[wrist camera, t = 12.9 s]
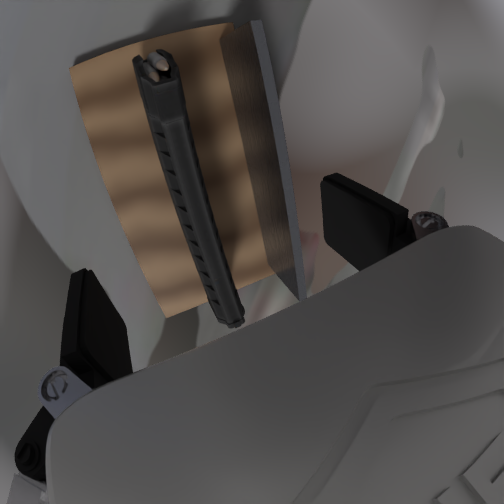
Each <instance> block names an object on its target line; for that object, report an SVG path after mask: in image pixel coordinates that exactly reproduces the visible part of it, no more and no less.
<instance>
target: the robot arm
mask: <svg viewBox="0 0 504 504" xmlns="http://www.w3.org/2000/svg"><path fill="white" fill-rule="evenodd" d="M320 187H321V199H322V213H323V229H324V239H325V241H326V243H327V244H328V245H329V246H330V247H331V248H332V249H334V250H335V251H336V252H337V253H338V254H340V255H341V256H342V257H343V258H344V259H346V260H347V261H348V262H349V263H350V264H352V265H353V266H354V267H355V268H356V269H357V270H359V272H358V273H356V274H354V275H352V276H350V277H348V278H346V279H344V280H342V281H340V282H338V283H336V284H334V285H332V286H330V287H328V288H327V289H325V290H323V291H321V292H319V293H316V294H314V295H312V296H310V297H308V298H306V299H304V300H302V301H300V302H298V303H296V304H294V305H292V306H290V307H288V308H285V309H283V310H281V311H279V312H277V313H275V314H273V315H270V316H268V317H266V318H264V319H262V320H259V321H257V322H255V323H253V324H251V325H248V326H246V327H244V328H242V329H239V330H237V331H235V332H232V333H230V334H228V335H225V336H223V337H221V338H218V339H216V340H214V341H211V342H209V343H207V344H204V345H202V346H200V347H197V348H195V349H192V350H190V351H187V352H185V353H182V354H180V355H177V356H175V357H172V358H170V359H167V360H165V361H162V362H160V363H157V364H155V365H152V366H149V367H147V368H144V369H141V370H139V371H137V372H134V373H133V370H132V364H131V357H130V351H129V343H128V336H127V328H126V325H125V323H124V321H123V319H122V318H121V316H120V314H119V313H118V311H117V310H116V308H115V307H114V305H113V304H112V302H111V300H110V299H109V297H108V296H107V294H106V292H105V291H104V289H103V288H102V286H101V284H100V283H99V281H98V279H97V277H96V276H95V274H94V272H93V271H92V270H89V271H88V270H87V269H86V268H84V269H81V270H79V271H77V272H75V273H73V274H71V279H70V285H69V290H68V297H67V304H66V311H65V317H64V323H63V332H62V342H61V354H60V366H58V367H54V368H52V369H51V370H49V371H48V372H47V373H46V374H45V375H44V376H43V377H42V379H41V381H40V383H39V386H38V398H39V400H40V401H41V403H42V404H43V407H42V408H41V409H40V411H39V412H38V414H37V416H36V417H35V418H34V420H33V421H32V423H31V424H30V426H29V427H28V429H27V430H26V432H25V434H24V435H23V437H22V438H21V440H20V441H19V443H18V445H17V447H16V451H15V463H16V466H17V468H18V470H19V475H17V474H14V478H13V481H12V485H11V489H10V493H9V497H8V501H7V504H504V242H503V241H501V240H500V239H498V238H497V237H495V236H493V235H492V234H490V233H488V232H486V231H484V230H482V229H480V228H478V227H475V226H469V225H468V226H467V225H465V226H464V225H462V226H453V227H449V226H448V223H447V221H446V220H445V219H444V218H443V217H442V216H440V215H438V214H436V213H433V212H428V211H421V212H417V213H415V214H414V215H413V216H412V219H409V218H408V211H409V210H408V209H406V208H404V207H403V206H401V205H399V204H397V203H396V202H394V201H392V200H390V199H388V198H386V197H385V196H383V195H381V194H378V193H377V192H375V191H373V190H371V189H369V188H367V187H365V186H363V185H361V184H359V183H357V182H355V181H353V180H351V179H349V178H347V177H345V176H343V175H341V174H339V173H334V174H331V175H328V176H325V177H324V178H323V181H321V184H320Z"/></svg>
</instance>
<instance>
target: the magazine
mask: <svg viewBox="0 0 504 504" xmlns="http://www.w3.org/2000/svg"><path fill="white" fill-rule="evenodd" d="M156 52H157V53H156ZM156 52H152V53H150V54H149V55H148V56H147V59H146V60H143V58H142V57H141V56H140V55H137V56H135V57H134V58H133V59H132V63H133V67H134V72H135V76H136V80H137V84H138V88H139V92H140V96H141V98H142V101H143V105H144V109H145V112H146V116H147V120H148V123H149V127H150V130H151V134H152V137H153V141H154V144H155V148H156V151H157V154H158V158H159V161H160V164H161V167H162V171H163V174H164V177H165V180H166V183H167V186H168V189H169V192H170V195H171V198H172V201H173V204H174V207H175V210H176V213H177V216H178V219H179V222H180V225H181V228H182V230H183V233H184V236H185V239H186V242H187V244H188V247H189V250H190V253H191V255H192V258H193V261H194V263H195V266H196V269H197V271H198V274H199V277H200V279H201V282H202V284H203V287H204V289H205V292H206V295H207V299H208V301H209V304H210V306H211V308H212V310H213V312H214V314H215V316H216V318H217V320H218V322H220V323H223V324H226V325H227V326H228V328H234V327H235V328H237V327H240V326H241V324H243V323H244V322H245V319H244V317H243V316H244V314H245V310H244V307H243V306H242V304H241V301H240V298H239V295H238V292H237V289H236V287H235V284H234V281H233V278H232V274H231V271H230V268H229V265H228V261H227V259H226V256H225V252H224V249H223V245H222V243H221V239H220V236H219V233H218V228H217V226H216V222H215V219H214V214H213V212H212V208H211V205H210V201H209V196H208V194H207V190H206V186H205V183H204V177H203V175H202V171H201V167H200V163H199V158H198V156H197V151H196V147H195V141H194V139H193V135H192V130H191V126H190V120H189V117H188V113H187V108H186V101H185V96H184V91H183V86H182V82H181V77H180V72H179V67H178V65H177V64H176V62H175V61H174V59H173V56H172V54H170V53H169V52H167V51H165V50H163V49H156Z"/></svg>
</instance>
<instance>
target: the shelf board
mask: <svg viewBox="0 0 504 504" xmlns="http://www.w3.org/2000/svg"><path fill="white" fill-rule="evenodd" d="M234 30H235V29H234V25H233V22H230V23H223V24H216V25H210V26H204V27H199V28H194V29H189V30H184V31H179V32H175V33H171V34H166V35H162V36H159V37H155V38H151V39H148V40H144V41H141V42H137V43H134V44H131V45H128V46H125V47H122V48H119V49H116V50H113V51H110V52H107V53H105V54H102V55H99V56H97V57H94V58H92V59H89V60H87V61H84V62H82V63H80V64H77V65H75V66H73V67H71V68H69V70H70V74H71V78H72V82H73V86H74V90H75V94H76V97H77V101H78V104H79V108H80V111H81V115H82V118H83V121H84V125H85V128H86V131H87V134H88V137H89V140H90V143H91V146H92V149H93V152H94V155H95V158H96V161H97V164H98V166H99V169H100V172H101V175H102V177H103V180H104V183H105V185H106V188H107V191H108V193H109V196H110V198H111V201H112V203H113V206H114V208H115V211H116V213H117V215H118V218H119V220H120V222H121V225H122V227H123V229H124V232H125V234H126V236H127V239H128V241H129V243H130V245H131V247H132V250H133V252H134V254H135V256H136V258H137V260H138V263H139V265H140V267H141V269H142V271H143V273H144V275H145V277H146V279H147V281H148V283H149V285H150V287H151V289H152V291H153V293H154V295H155V297H156V299H157V301H158V303H159V305H160V307H161V309H162V311H163V312H164V314H165V316H166V318H168V317H170V316H173V315H175V314H178V313H181V312H183V311H185V310H188V309H190V308H193V307H195V306H198V305H200V304H203V303H205V302H208V299H207V295H206V292H205V289H204V287H203V284H202V282H201V279H200V277H199V274H198V271H197V269H196V266H195V263H194V261H193V258H192V255H191V253H190V250H189V247H188V244H187V242H186V239H185V236H184V233H183V230H182V228H181V225H180V222H179V219H178V216H177V213H176V210H175V207H174V204H173V201H172V198H171V195H170V192H169V189H168V186H167V183H166V180H165V177H164V174H163V171H162V167H161V164H160V161H159V158H158V154H157V151H156V148H155V144H154V141H153V137H152V134H151V130H150V127H149V123H148V120H147V116H146V112H145V109H144V105H143V101H142V98H141V96H140V92H139V88H138V84H137V80H136V76H135V72H134V67H133V63H132V59H133V58H134V57H135V56H137V55H140V56H141V57H142V58H143V60H146V59H147V56H148V55H149V54H150V53H152V52H156V49H163V50H165V51H167V52H169V53H170V54H172V56H173V59H174V61H175V62H176V64H177V65H178V67H179V72H180V77H181V82H182V86H183V91H184V96H185V101H186V108H187V113H188V117H189V120H190V126H191V130H192V135H193V139H194V141H195V147H196V151H197V156H198V158H199V163H200V167H201V171H202V175H203V177H204V183H205V186H206V190H207V194H208V196H209V201H210V205H211V208H212V212H213V214H214V219H215V222H216V226H217V228H218V233H219V236H220V239H221V243H222V245H223V249H224V252H225V256H226V259H227V261H228V265H229V268H230V271H231V274H232V278H233V281H234V284H235V287H236V289H239V288H242V287H244V286H247V285H249V284H251V283H254V282H256V281H258V280H261V279H263V278H266V277H268V276H270V275H273V274H275V272H274V271H273V270H272V269H271V267H270V266H269V265H268V262H267V257H266V252H265V247H264V243H263V238H262V233H261V228H260V223H259V219H258V214H257V209H256V204H255V200H254V195H253V190H252V185H251V181H250V176H249V171H248V167H247V162H246V158H245V153H244V148H243V144H242V139H241V135H240V130H239V126H238V121H237V117H236V112H235V108H234V103H233V99H232V94H231V90H230V85H229V81H228V77H227V72H226V68H225V63H224V59H223V55H222V50H221V46H220V42H219V40H220V39H222V38H223V37H225V36H226V35H228V34H229V33H231V32H232V31H234ZM156 53H157V52H156Z"/></svg>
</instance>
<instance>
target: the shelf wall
mask: <svg viewBox="0 0 504 504" xmlns="http://www.w3.org/2000/svg"><path fill="white" fill-rule="evenodd" d="M219 42H220V46H221V50H222V55H223V59H224V63H225V68H226V72H227V77H228V81H229V85H230V90H231V94H232V99H233V103H234V108H235V112H236V117H237V121H238V126H239V130H240V135H241V139H242V144H243V148H244V153H245V158H246V162H247V167H248V171H249V176H250V181H251V185H252V190H253V195H254V200H255V204H256V209H257V214H258V219H259V223H260V228H261V233H262V238H263V243H264V247H265V252H266V257H267V262H268V265H269V266H270V267H271V269H272V270H273V271H274V272H275V273H276V274H277V276H278V277H279V278H280V279H281V280H282V282H283V283H284V284H285V285H286V286H287V287H288V289H289V290H290V291H291V292H292V293H293V294H294V296H295V297H296V298H297V299H298V300H299V301H302V300H304V299H306V298H307V295H306V285H305V276H304V267H303V259H302V250H301V242H300V234H299V227H298V219H297V212H296V205H295V197H294V191H293V184H292V177H291V171H290V164H289V158H288V152H287V146H286V140H285V134H284V128H283V123H282V117H281V112H280V106H279V101H278V95H277V90H276V85H275V80H274V75H273V70H272V65H271V60H270V56H269V51H268V46H267V42H266V37H265V33H264V28H263V24H262V20H253V21H249V22H247V23H246V24H244V25H242V26H241V27H239V28H237V29H236V30H234V31H232V32H231V33H229V34H228V35H226V36H225V37H223V38H222V39H220V40H219Z"/></svg>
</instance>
